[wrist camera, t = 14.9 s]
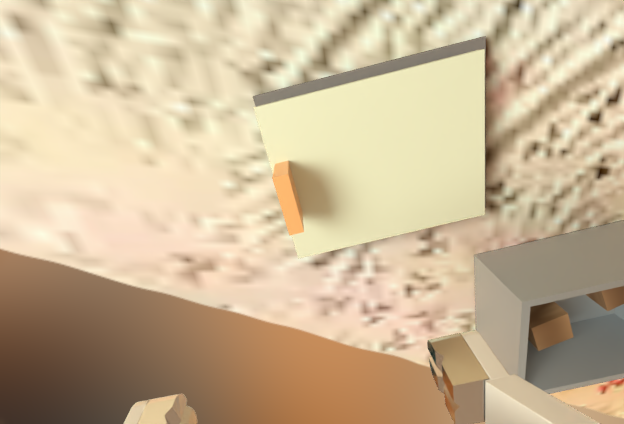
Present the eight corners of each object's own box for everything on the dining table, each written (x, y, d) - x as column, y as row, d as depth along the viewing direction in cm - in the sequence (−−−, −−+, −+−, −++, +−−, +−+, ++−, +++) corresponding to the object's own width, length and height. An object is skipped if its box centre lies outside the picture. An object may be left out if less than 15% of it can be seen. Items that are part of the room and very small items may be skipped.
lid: (469, 50, 26) (519, 44, 20) (472, 205, 32) (511, 234, 26) (256, 105, 27) (246, 113, 21) (297, 247, 33) (299, 283, 27)
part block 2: (603, 247, 35) (639, 267, 31) (610, 271, 37) (645, 293, 33) (568, 265, 36) (600, 286, 32) (576, 288, 37) (607, 311, 34)
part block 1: (540, 289, 37) (567, 313, 33) (546, 312, 39) (573, 337, 35) (508, 303, 38) (531, 328, 34) (515, 325, 39) (538, 351, 35)
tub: (634, 217, 35) (726, 256, 27) (613, 312, 40) (684, 364, 33) (474, 254, 35) (522, 302, 28) (476, 342, 41) (516, 400, 34)
